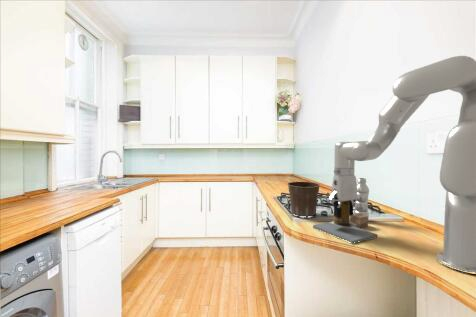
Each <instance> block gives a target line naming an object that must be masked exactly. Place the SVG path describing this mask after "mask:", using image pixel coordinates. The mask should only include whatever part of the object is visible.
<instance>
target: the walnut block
mask: <svg viewBox="0 0 476 317" xmlns="http://www.w3.org/2000/svg"><path fill="white" fill-rule="evenodd" d="M349 218H350V219H349V221H350V222H351V223H356V224H357V225H355V226H354V227H357V228H360V229H366V228H369V218H368V216H366V215H362V214H359V213H357V214H354V213H353V215H350V216H349Z"/></svg>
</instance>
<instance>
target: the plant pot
mask: <svg viewBox="0 0 476 317" xmlns="http://www.w3.org/2000/svg"><path fill="white" fill-rule="evenodd" d="M286 185H287V186H288V187H287V188H288V192H289V203H290V214H291V213H292V214H295V215H298V216H306V217H308V216H313V215H314V214H315V213H317V204H318V194H319V193H320V191H319V190H320V187H321V184H320V183H318V182H313V181H292V182H290V181H289V182H287V184H286ZM292 214H291V215H292ZM298 216H297V217H298Z"/></svg>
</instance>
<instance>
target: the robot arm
mask: <svg viewBox="0 0 476 317" xmlns="http://www.w3.org/2000/svg"><path fill="white" fill-rule="evenodd" d="M448 90H450V91H452V92H456V93H459V94H460V95H461V97H462V101H461V105H460V108H459V117H458V122H457V124H456V125H455V126H453V128H451V129H450V131H449V132H448V134H447V135H446V139H445V143H444V149H443V154H442V160H441V166H440V170H439V182H440V185H441V186H442V188H443V189H444V190H445V191H446V193H445V206H444V225H443V226H444V227H443V250H442V252H439V253H437V254H436V260H437V259H438V260H439V261H440V262H442V263H444V264H446V265H448V266H451V267H453V268H456V269H459V270H462V271H467V272H475V273H476V59H474V58H473V57H470V56H466V55H458V56H452V57H449V58H444V59H441V60H439V61H437V62H433V63H431V64H427V65H424V66H422V67H421V66H420V67H418V68H415V69H413V70H410V71H407V72H405V73H403V74H402V75H400V76H398V78H397V79H395V81H394V82H393V85H392V93H393V96H391V98H390V99H389V100H388V102H386V105H384V107H383V108H382V109H381V110H380V112H379V114H378V126H377V127H376V130H375V131H374V132H373V134H372V135H371V136H370V137H369V139H367V140H359V141H338V142H336V143H334V161H333V162H334V169H333V177H332V184H331V194H330V196H329V198H328V201H329V202H330V204H331V205H332V207H333V217H334V216H335V217H338V218H341V208H340V206H341V203H342V202H343V201H349V202H350V215H353V214H354V207H355V201H356V199H357V197H358V195H357V184H358V182H357V177H356V175H355V161H357V162H365V161H366V162H367V161H372V160H376V159H377V158H379V157H380V156H381V155H382V154H383V153H384V152H385V151H386V150H387V149H388V148H389V147H390V146H391V144H392V143H393V142H394V141H395V139H396V138H397V136H398V134H399V132H400V131H401V128H402V127H403V126H404V125H405V124H406V122H407V121H408V120H409V119H410V118H411V116H413V114H414V113H415V112H416V111H417V110H418V109H419V108H420V106H422V104H423V103H425V101H426V100H427V98H428V97H429V96H430V95H433V94H437V93H440V92H444V91H448ZM337 198H338V199H337ZM337 201H339V202H338V204H337ZM438 260H437V261H438ZM440 262H439V263H440Z"/></svg>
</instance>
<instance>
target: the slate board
mask: <svg viewBox="0 0 476 317" xmlns="http://www.w3.org/2000/svg"><path fill="white" fill-rule="evenodd" d="M333 221H334V220H331V221H327V222H322V223H317V224H313V225H312V228H313V229H315V230H317V229H318V230H317V231H320V230H321V231H320V232H322V231H323V232H322V233H324V232H326V233H325V234H327V233H329V234H331V235H334V236H336V237H339V238H341V239H344V240H347V241H349V242H351V243H354V242H358V241H362V240H366V241H368V240H367V239H369V240H372V239H371V238H373V239H376V238H375V237H377V238H378V234H376V233H375V232H373V231H372V232H371V231H368V230H366V229H364V228H362V229H360V228H357V227H354V226H353V227H350V228H348V227H343V226H339V225H335V224H332V223H330V222H333ZM329 234H328V235H329ZM331 235H330V236H331ZM334 236H333V237H334ZM336 237H335V238H336ZM339 238H338V239H339ZM341 239H340V240H341ZM362 242H363V241H362Z"/></svg>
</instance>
